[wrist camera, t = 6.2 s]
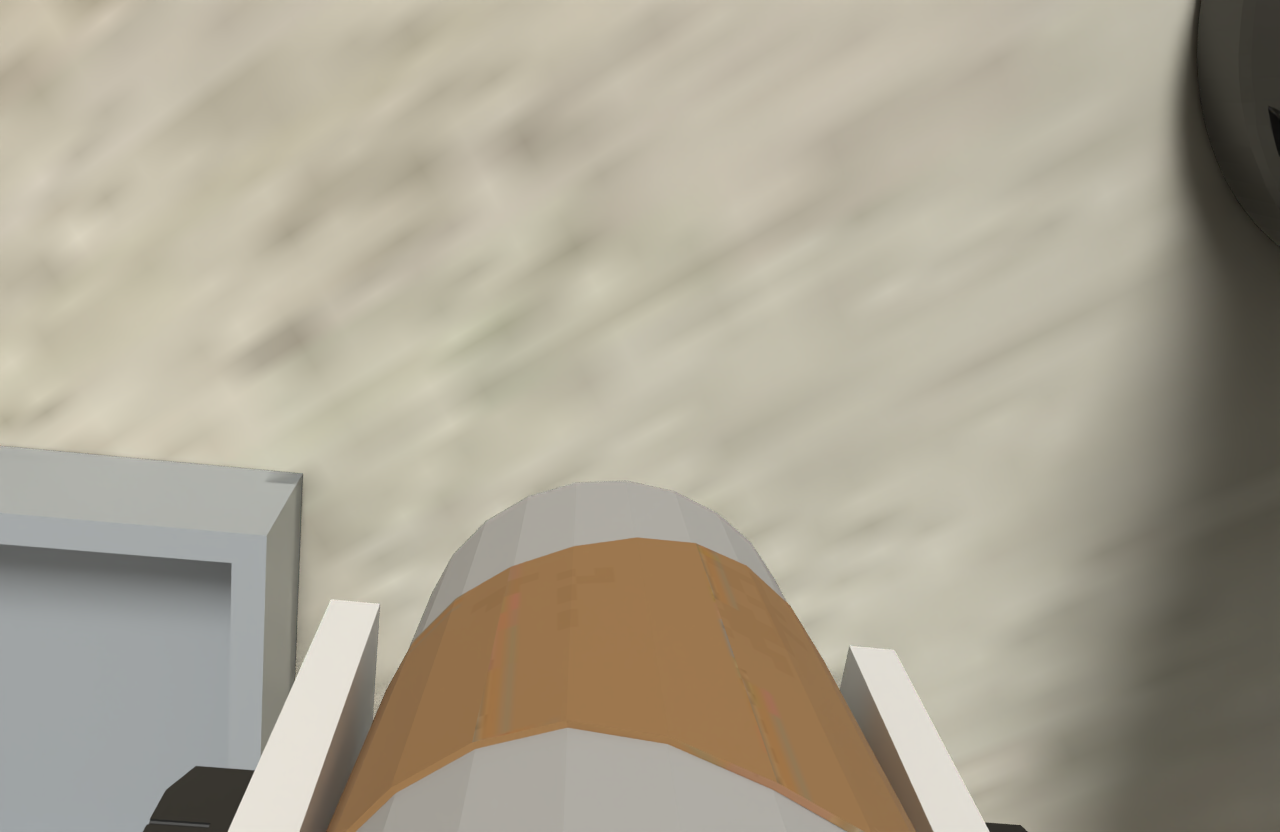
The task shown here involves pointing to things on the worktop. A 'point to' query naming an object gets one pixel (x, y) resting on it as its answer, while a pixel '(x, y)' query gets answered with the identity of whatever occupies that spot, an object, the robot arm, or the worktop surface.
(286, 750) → the robot arm
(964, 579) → the worktop surface
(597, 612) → the coffee cup
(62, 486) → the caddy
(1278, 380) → the worktop surface
